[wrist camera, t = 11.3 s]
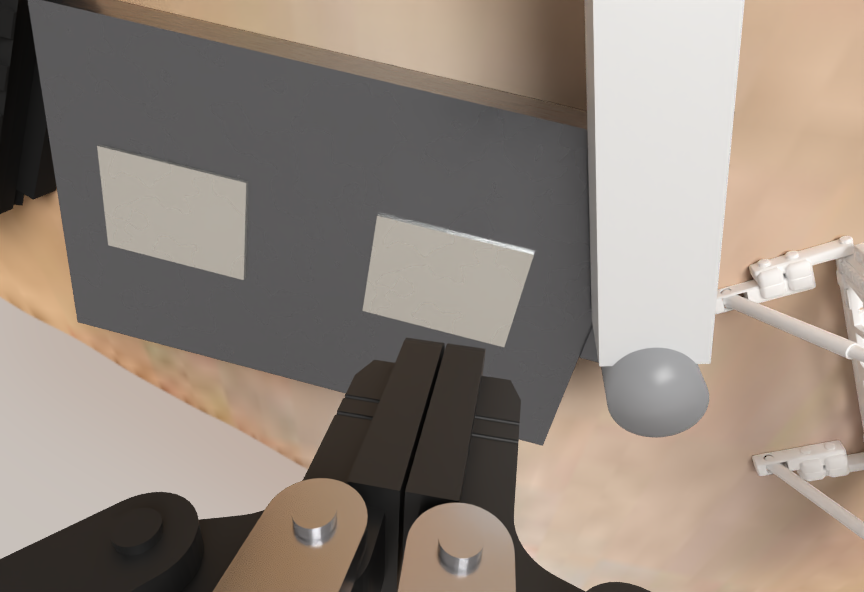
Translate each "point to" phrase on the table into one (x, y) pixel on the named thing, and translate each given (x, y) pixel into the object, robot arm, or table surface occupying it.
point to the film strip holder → (860, 287)
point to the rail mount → (21, 112)
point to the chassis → (312, 203)
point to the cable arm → (658, 198)
